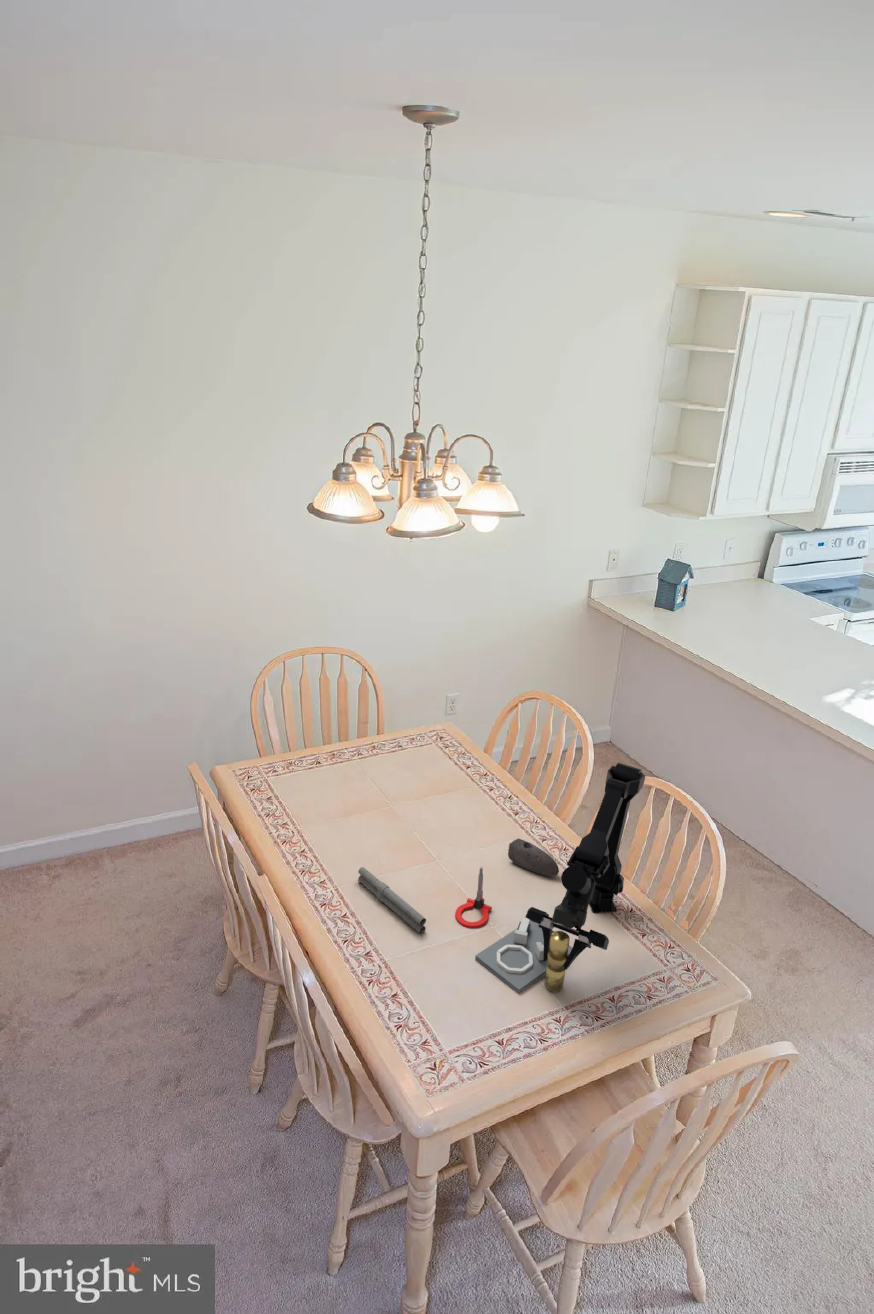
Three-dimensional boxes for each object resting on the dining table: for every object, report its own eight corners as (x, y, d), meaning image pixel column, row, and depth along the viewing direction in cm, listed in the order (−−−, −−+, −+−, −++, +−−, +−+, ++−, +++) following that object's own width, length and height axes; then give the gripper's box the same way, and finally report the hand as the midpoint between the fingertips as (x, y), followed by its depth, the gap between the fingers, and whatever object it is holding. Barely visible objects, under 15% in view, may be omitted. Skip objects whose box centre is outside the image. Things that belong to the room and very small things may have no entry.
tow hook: (479, 934, 217) (495, 911, 224) (481, 893, 211) (497, 871, 218) (449, 922, 220) (465, 900, 227) (450, 881, 214) (467, 860, 222)
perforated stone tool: (562, 875, 238) (564, 855, 236) (552, 885, 234) (555, 864, 232) (515, 853, 246) (517, 833, 244) (505, 862, 242) (507, 842, 240)
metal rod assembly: (426, 931, 216) (427, 915, 214) (418, 936, 214) (418, 920, 212) (364, 878, 233) (364, 863, 231) (355, 882, 232) (356, 867, 230)
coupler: (540, 977, 203) (546, 930, 197) (561, 976, 203) (567, 929, 198) (546, 993, 198) (552, 946, 192) (567, 992, 199) (573, 944, 193)
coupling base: (531, 922, 220) (533, 908, 219) (574, 953, 211) (576, 939, 209) (475, 959, 208) (476, 944, 206) (518, 993, 199) (520, 979, 197)
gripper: (532, 878, 198) (508, 945, 194) (611, 907, 190) (588, 978, 186) (542, 886, 208) (519, 951, 203) (618, 915, 200) (596, 982, 195)
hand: (554, 965), depth 197 cm, fingers closed on coupler, 5 cm apart
